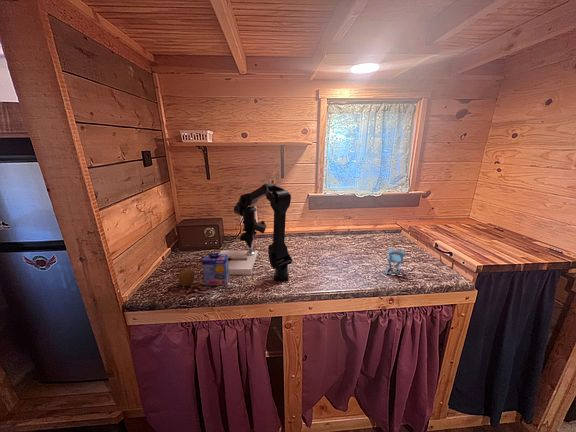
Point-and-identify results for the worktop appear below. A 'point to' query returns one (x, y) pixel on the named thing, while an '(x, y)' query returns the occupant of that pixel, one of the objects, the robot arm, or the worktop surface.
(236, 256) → the keyhole board
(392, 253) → the chair
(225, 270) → the ink cartridge box
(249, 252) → the steel peg
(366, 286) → the worktop surface
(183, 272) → the fruit
